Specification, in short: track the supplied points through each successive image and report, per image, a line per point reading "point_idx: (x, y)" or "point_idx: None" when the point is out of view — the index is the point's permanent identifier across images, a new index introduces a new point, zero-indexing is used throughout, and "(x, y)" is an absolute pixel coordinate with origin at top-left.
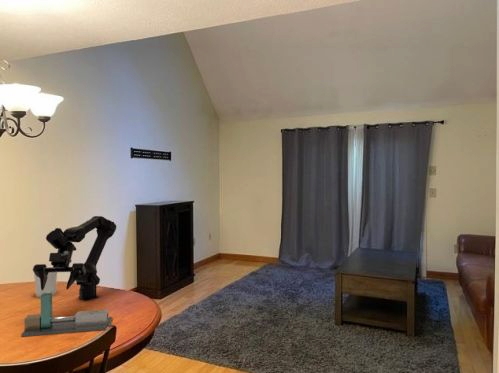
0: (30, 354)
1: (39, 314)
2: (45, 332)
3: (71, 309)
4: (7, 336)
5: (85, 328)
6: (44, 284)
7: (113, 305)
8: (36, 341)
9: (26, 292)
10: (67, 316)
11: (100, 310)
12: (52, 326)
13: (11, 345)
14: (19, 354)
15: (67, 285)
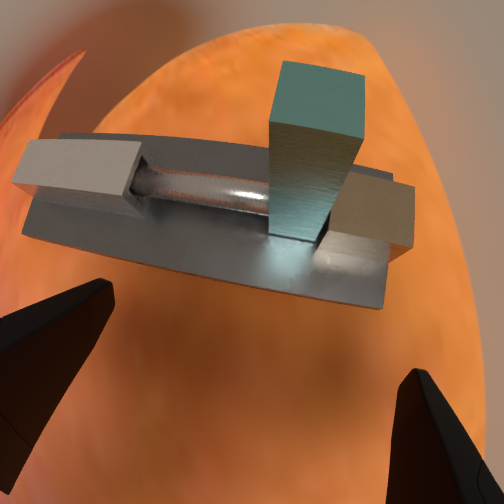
0: (310, 43)
1: (350, 230)
2: None
3: (185, 477)
4: (441, 208)
5: (128, 136)
6: (403, 465)
7: None
8: None
9: None
10: (182, 179)
11: (35, 177)
12: None
13: (395, 117)
14: (343, 54)
15: (83, 293)
